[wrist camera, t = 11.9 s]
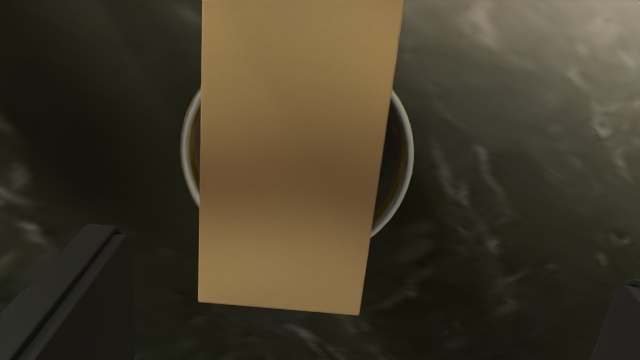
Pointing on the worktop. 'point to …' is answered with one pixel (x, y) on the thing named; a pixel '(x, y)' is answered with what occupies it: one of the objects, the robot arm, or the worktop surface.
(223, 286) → the wooden block
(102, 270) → the robot arm
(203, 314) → the worktop surface
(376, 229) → the ceramic cup
